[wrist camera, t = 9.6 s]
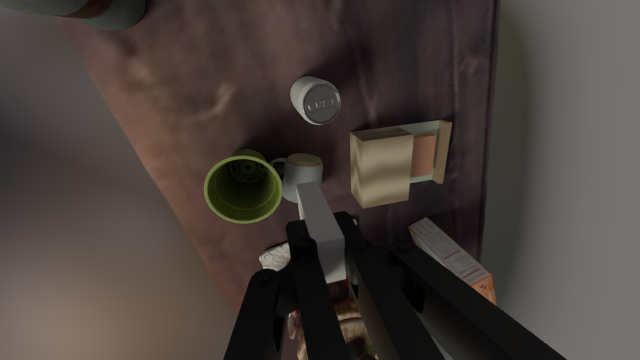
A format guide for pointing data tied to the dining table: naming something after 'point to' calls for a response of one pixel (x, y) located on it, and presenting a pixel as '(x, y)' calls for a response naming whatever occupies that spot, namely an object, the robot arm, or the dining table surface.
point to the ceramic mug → (299, 172)
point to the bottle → (86, 11)
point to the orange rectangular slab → (422, 154)
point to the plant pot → (243, 188)
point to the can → (315, 100)
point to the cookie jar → (343, 304)
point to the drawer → (441, 146)
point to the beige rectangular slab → (380, 165)
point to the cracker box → (452, 257)
